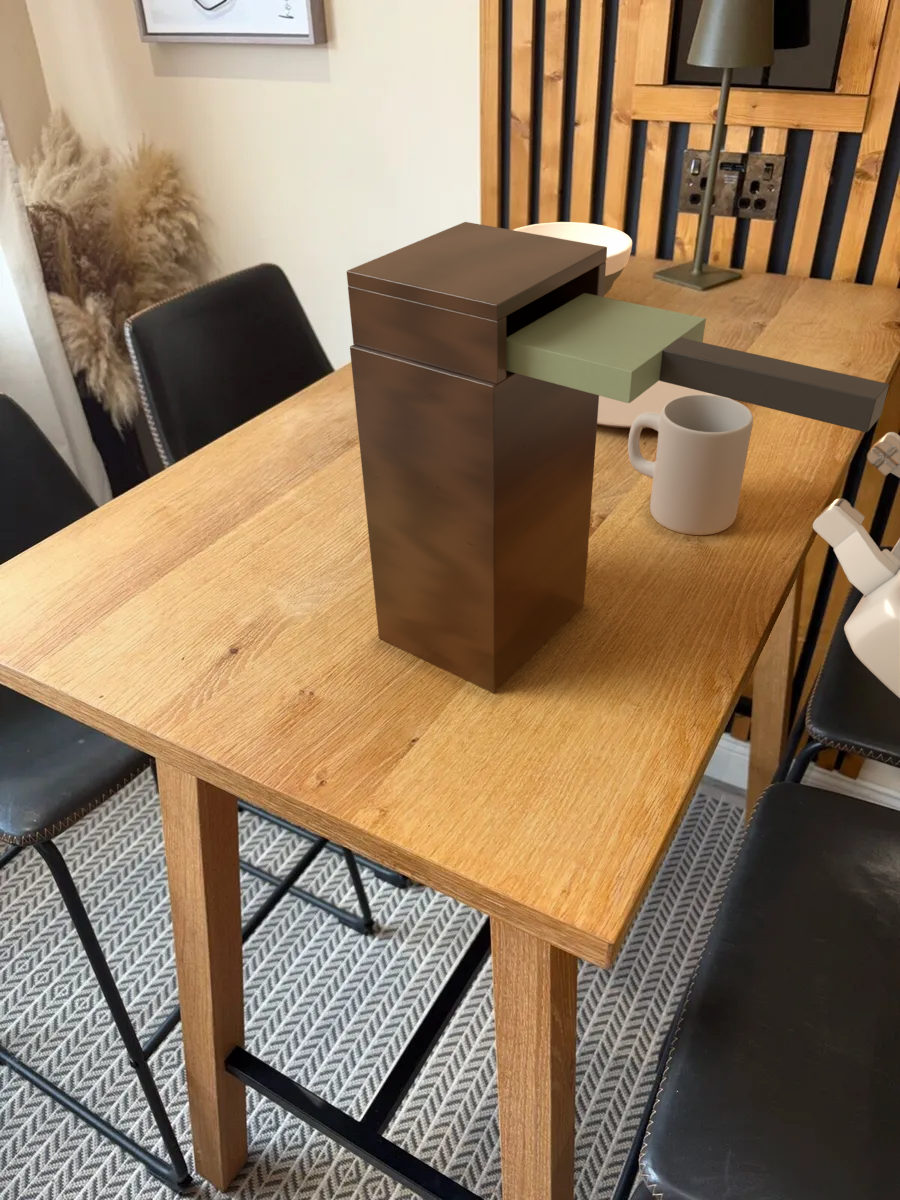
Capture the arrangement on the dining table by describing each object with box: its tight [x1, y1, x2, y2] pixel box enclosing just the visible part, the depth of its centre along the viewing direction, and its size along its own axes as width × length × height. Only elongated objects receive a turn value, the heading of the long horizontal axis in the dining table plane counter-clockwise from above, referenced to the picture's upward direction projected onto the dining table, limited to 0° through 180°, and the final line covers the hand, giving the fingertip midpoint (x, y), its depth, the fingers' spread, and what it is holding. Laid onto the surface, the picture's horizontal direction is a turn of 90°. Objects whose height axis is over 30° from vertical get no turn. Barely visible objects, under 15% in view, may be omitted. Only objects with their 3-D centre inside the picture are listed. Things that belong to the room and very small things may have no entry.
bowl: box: [513, 221, 633, 296], centre depth 138 cm, size 20×20×10 cm
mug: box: [627, 395, 754, 536], centre depth 91 cm, size 12×8×11 cm
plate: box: [597, 380, 730, 430], centre depth 115 cm, size 26×26×2 cm
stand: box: [346, 221, 607, 694], centre depth 71 cm, size 12×14×31 cm
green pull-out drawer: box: [506, 293, 890, 433], centre depth 56 cm, size 22×10×2 cm, turn 53°
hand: (852, 474), depth 53 cm, fingers open, 8 cm apart
